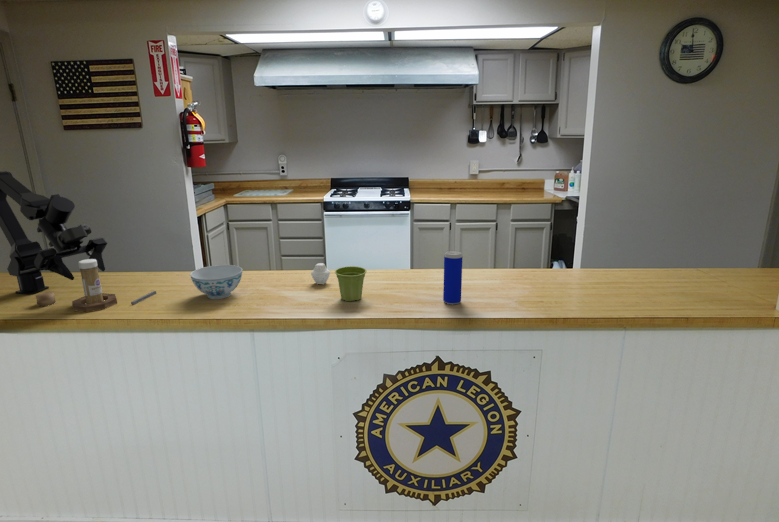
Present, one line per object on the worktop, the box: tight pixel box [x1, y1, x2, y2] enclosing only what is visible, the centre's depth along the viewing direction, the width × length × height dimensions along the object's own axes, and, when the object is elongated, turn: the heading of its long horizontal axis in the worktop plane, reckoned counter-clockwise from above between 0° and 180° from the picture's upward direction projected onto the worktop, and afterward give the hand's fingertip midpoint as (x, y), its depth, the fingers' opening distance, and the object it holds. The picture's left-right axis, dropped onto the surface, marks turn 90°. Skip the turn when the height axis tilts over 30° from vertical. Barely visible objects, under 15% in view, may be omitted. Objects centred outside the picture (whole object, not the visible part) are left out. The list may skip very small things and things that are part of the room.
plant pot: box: [334, 265, 367, 302], centre depth 143 cm, size 9×9×9 cm
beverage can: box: [442, 250, 463, 306], centre depth 138 cm, size 5×5×15 cm
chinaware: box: [189, 264, 243, 300], centre depth 146 cm, size 15×15×8 cm
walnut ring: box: [71, 292, 118, 313], centre depth 141 cm, size 11×11×2 cm
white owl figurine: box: [310, 262, 331, 285], centre depth 157 cm, size 6×6×7 cm
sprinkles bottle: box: [77, 258, 104, 304], centre depth 139 cm, size 5×5×14 cm
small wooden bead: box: [35, 291, 57, 307], centre depth 141 cm, size 4×4×3 cm
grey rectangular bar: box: [130, 290, 157, 306], centre depth 145 cm, size 10×1×1 cm, turn 168°
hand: (89, 274), depth 138 cm, fingers open, 9 cm apart
